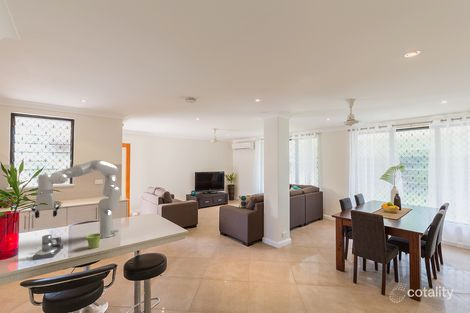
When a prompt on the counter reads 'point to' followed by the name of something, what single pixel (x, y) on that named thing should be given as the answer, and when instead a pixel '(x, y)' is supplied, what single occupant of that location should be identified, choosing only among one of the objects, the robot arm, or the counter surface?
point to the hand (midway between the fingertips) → (46, 217)
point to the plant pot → (93, 240)
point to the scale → (55, 249)
